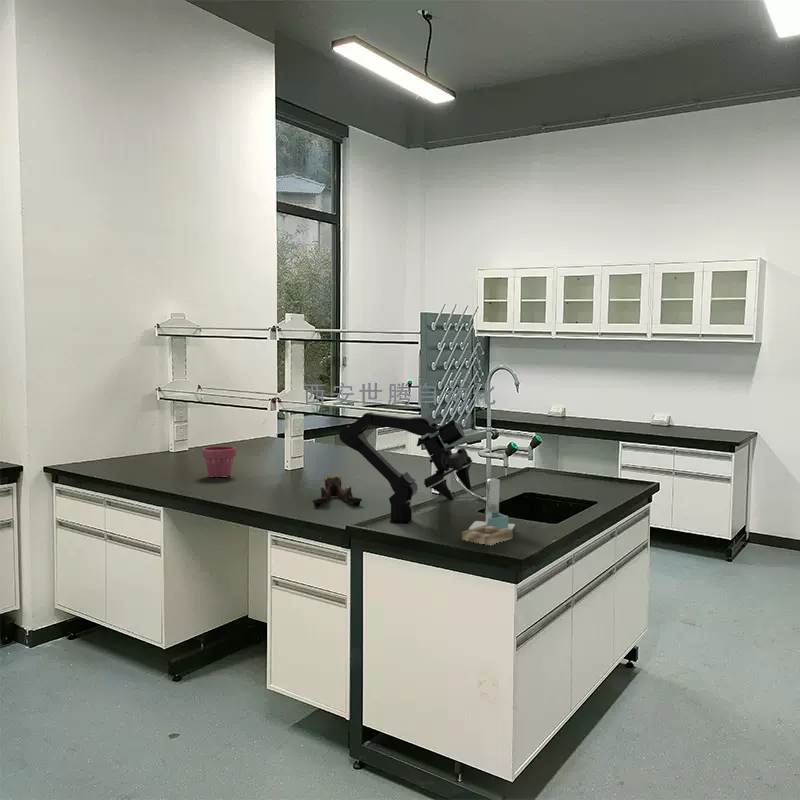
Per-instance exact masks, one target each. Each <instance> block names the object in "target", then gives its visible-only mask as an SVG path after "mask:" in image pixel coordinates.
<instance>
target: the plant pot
mask: <svg viewBox="0 0 800 800" xmlns="http://www.w3.org/2000/svg"><path fill="white" fill-rule="evenodd" d="M236 455H237V448H236V447H235V446H228V445H227V446H226V445H224V446H223V445H222V446H220V445H219V446H218V445H217V446H215V445H214V446H205V447H202V458H204V462H205V466H206V470H207V473H208V475H207V476H208V477H209V476H213V477H222V476H229V475H230V476H231V474H232V473H231V472H232V469H233V464H234V458H235V457H237V456H236Z"/></svg>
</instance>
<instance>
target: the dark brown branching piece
mask: <svg viewBox="0 0 800 800" xmlns="http://www.w3.org/2000/svg"><path fill="white" fill-rule="evenodd" d="M323 481H324V486H323V485H319V491H320V493H321V494H320V497H319V498H316V499H313V500H311V502H312V503H313V506H314V507H315V508H320V507H321V506H322V505H324V504H325V503H328V502H329V501H330V499H331V498H332V497H338V498H339V499H340V500H341V501H343V502H346V503H349V504H351V505H354V506H355V507H359V506H360V505H361V502H362V500H363V498H359V497H356V496H353V494H352V485H350V484H348V485H347V486H346V487H345V489H343V488H342V481H343V478H342V474H340V475H339V474H338V473H337V475H334V476H331V475H330V476H329V475H324V477H323Z"/></svg>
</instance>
